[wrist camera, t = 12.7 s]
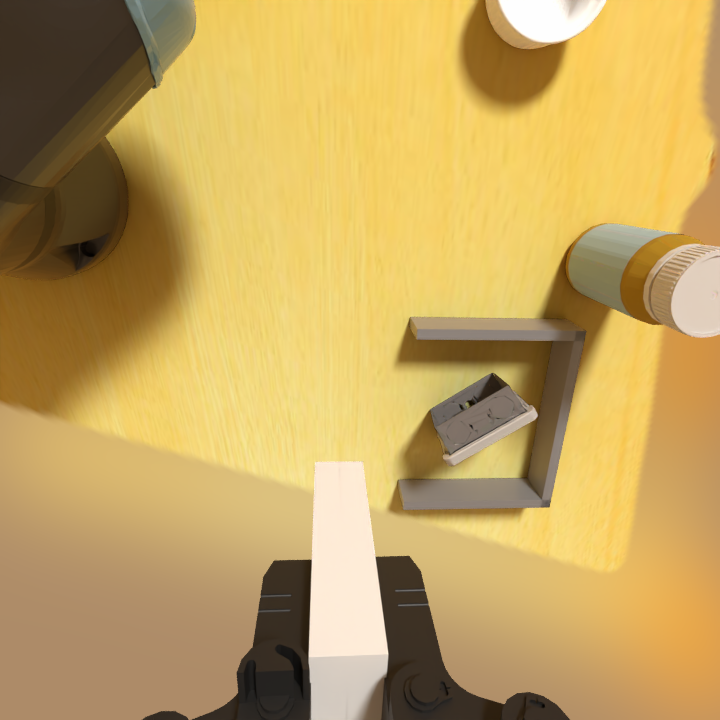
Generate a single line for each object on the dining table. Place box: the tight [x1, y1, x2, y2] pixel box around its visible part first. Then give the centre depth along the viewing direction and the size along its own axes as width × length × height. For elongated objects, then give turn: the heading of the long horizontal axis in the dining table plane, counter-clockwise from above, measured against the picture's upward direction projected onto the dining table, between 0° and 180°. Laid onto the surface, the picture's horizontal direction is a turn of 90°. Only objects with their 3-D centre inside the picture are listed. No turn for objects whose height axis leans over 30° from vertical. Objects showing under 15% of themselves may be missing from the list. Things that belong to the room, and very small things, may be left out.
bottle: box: [565, 223, 720, 337], centre depth 40 cm, size 7×7×15 cm
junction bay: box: [398, 317, 586, 510], centre depth 50 cm, size 20×16×4 cm
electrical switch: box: [430, 373, 538, 466], centre depth 47 cm, size 9×5×9 cm, turn 123°
